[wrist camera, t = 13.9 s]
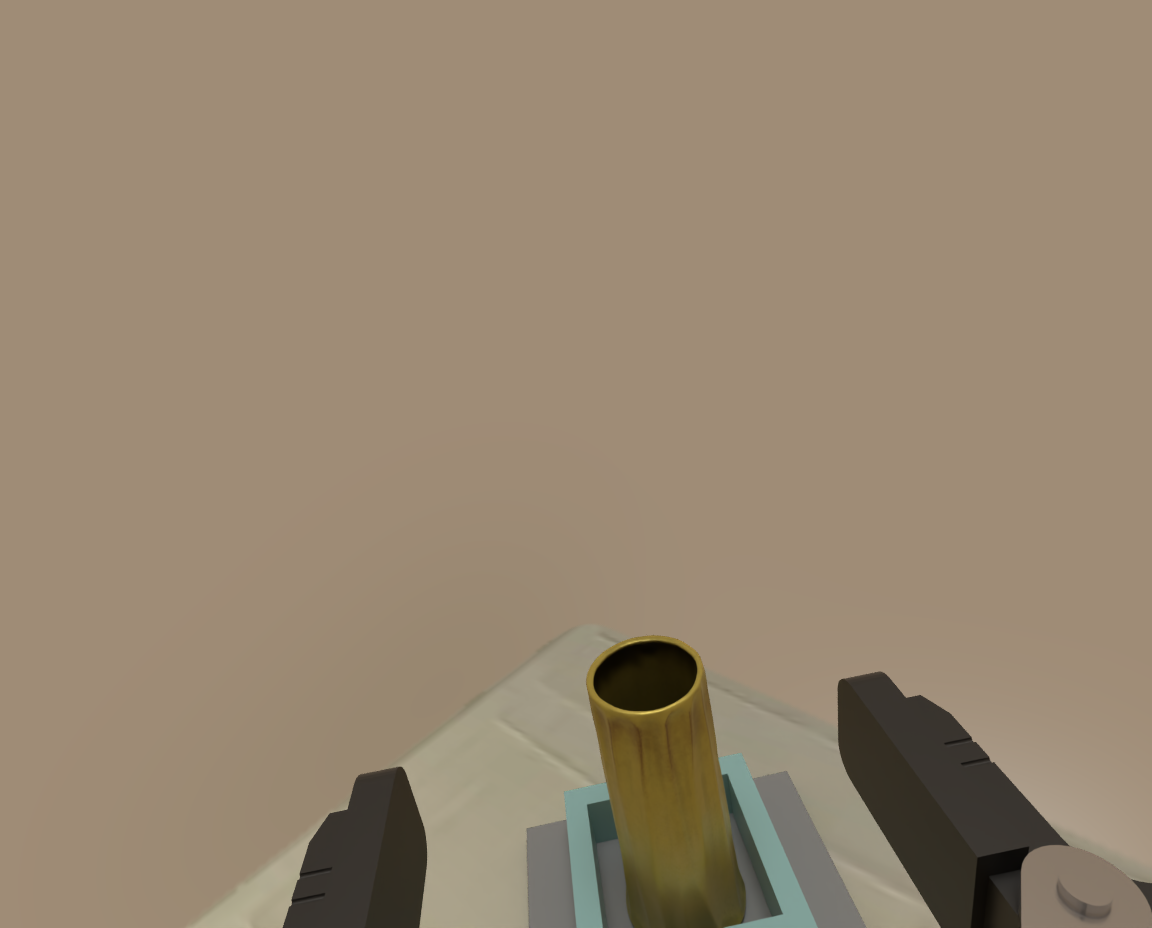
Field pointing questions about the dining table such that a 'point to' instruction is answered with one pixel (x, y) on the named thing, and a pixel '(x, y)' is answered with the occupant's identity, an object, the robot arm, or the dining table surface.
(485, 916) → the dining table surface
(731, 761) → the dock
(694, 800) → the vase
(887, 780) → the robot arm
